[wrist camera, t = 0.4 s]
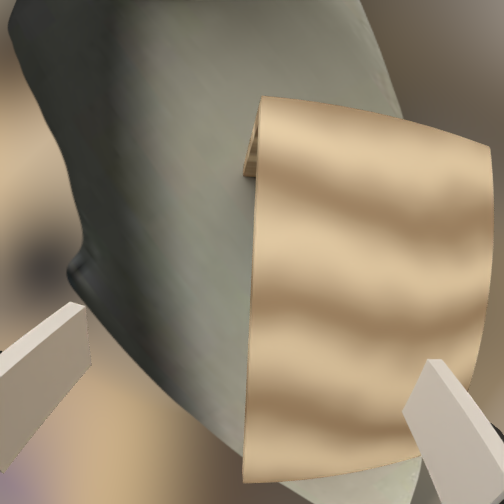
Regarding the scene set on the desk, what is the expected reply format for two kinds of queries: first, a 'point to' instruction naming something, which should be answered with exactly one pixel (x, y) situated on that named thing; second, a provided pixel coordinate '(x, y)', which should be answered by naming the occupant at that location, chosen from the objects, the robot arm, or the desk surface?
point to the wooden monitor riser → (357, 282)
